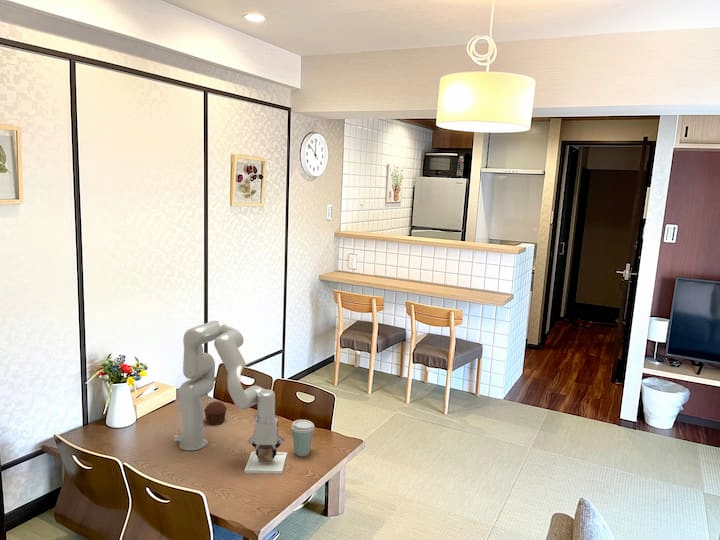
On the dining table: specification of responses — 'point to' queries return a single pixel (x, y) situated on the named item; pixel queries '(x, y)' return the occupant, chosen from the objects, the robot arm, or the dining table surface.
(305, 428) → the disposable coffee cup
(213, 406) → the muffin
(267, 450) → the cube
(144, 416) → the dining table surface
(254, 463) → the plate
